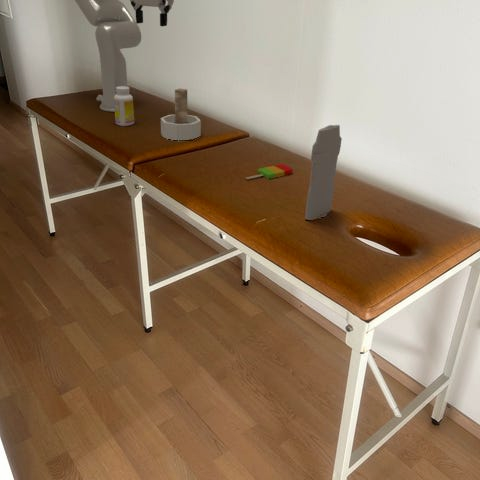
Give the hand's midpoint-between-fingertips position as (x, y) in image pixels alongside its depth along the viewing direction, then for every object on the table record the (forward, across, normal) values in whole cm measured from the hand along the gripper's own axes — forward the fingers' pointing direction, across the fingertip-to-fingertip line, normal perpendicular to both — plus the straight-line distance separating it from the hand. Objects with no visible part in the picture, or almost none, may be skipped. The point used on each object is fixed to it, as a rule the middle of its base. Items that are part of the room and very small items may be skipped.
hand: (151, 24), depth 176 cm
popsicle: (+33, +59, -30) cm, 74 cm away
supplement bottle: (+33, -6, -10) cm, 35 cm away
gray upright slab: (+32, +79, -48) cm, 98 cm away
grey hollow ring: (+33, +18, -11) cm, 39 cm away
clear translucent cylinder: (+32, +18, -10) cm, 38 cm away
